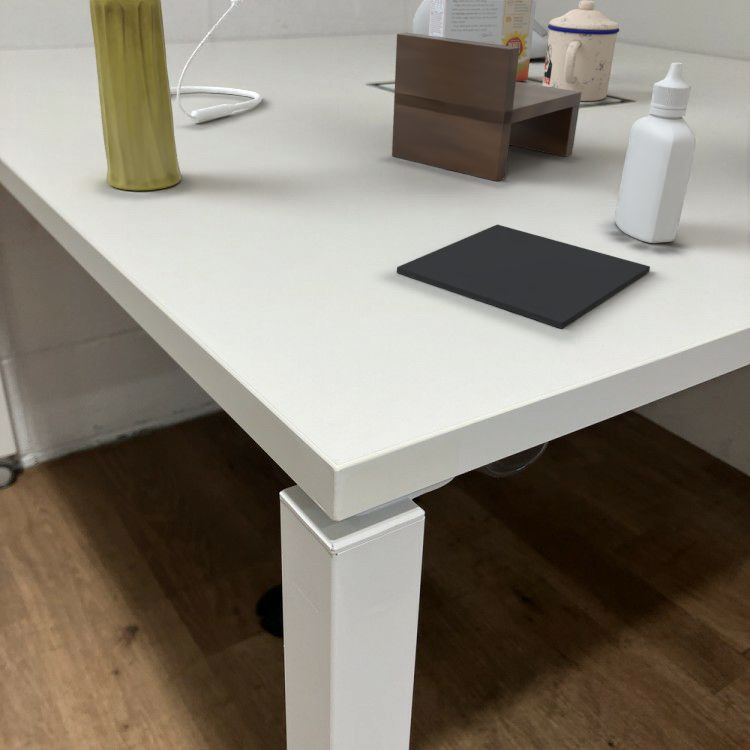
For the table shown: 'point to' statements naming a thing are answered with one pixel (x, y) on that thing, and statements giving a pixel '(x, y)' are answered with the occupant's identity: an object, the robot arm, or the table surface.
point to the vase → (134, 94)
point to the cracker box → (487, 24)
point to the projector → (538, 35)
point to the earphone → (214, 88)
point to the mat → (526, 274)
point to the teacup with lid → (581, 52)
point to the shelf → (473, 107)
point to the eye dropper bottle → (657, 164)
